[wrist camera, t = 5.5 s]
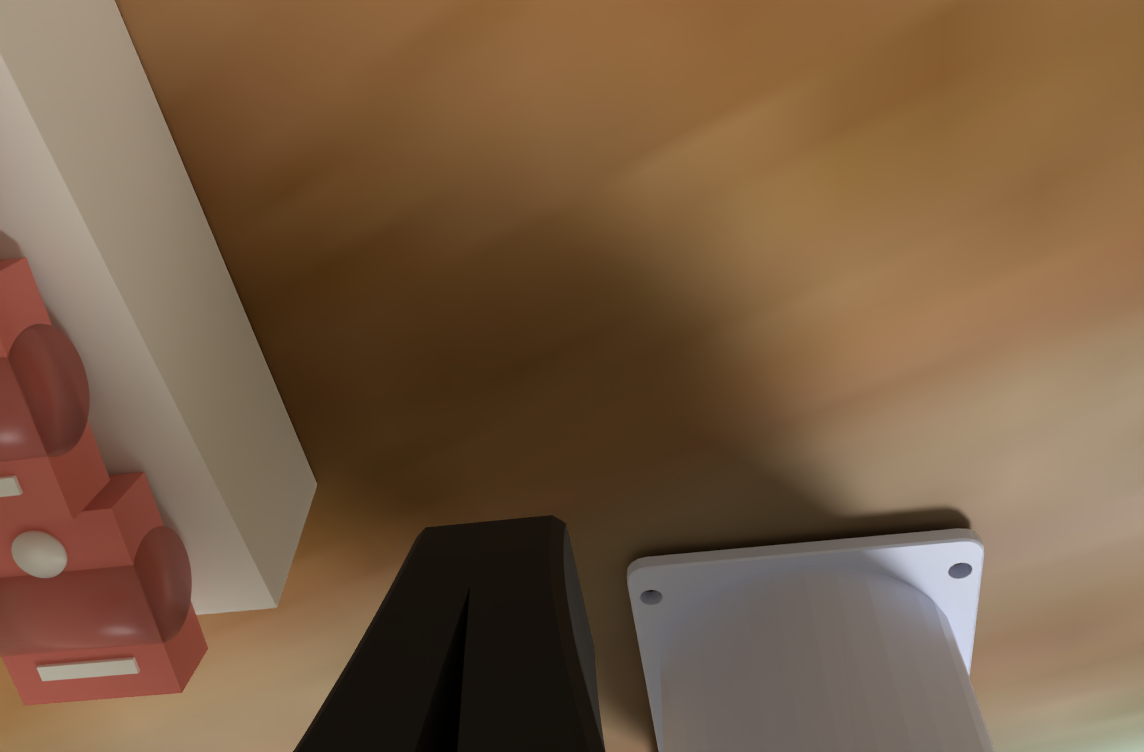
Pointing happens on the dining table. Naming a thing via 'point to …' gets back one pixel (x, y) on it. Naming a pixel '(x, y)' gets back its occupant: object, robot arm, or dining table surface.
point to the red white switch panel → (145, 299)
